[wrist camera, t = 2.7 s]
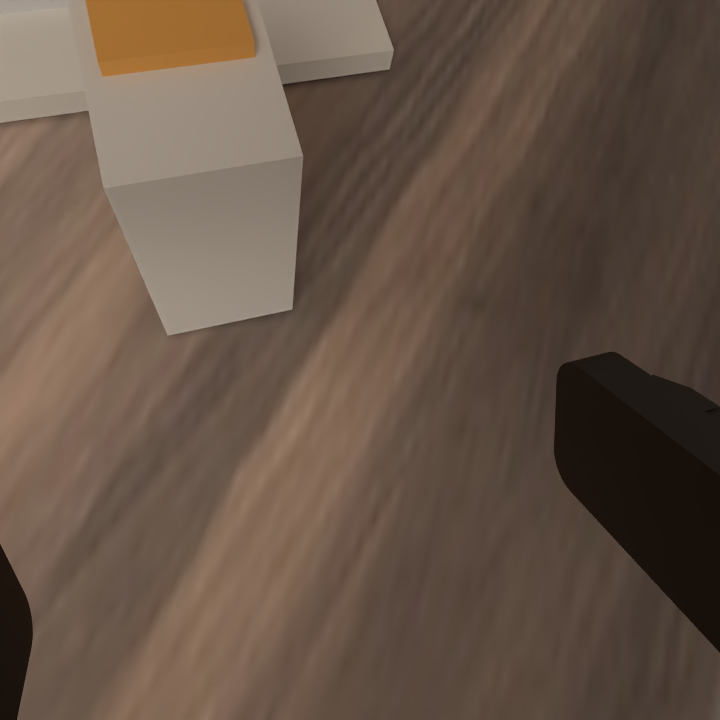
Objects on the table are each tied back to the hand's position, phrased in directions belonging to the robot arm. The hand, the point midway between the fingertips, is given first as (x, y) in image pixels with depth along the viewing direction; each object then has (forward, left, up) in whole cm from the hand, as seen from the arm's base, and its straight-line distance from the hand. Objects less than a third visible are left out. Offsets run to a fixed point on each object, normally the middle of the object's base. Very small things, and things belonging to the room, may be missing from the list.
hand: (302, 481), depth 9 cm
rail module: (0, +12, -15) cm, 19 cm away
